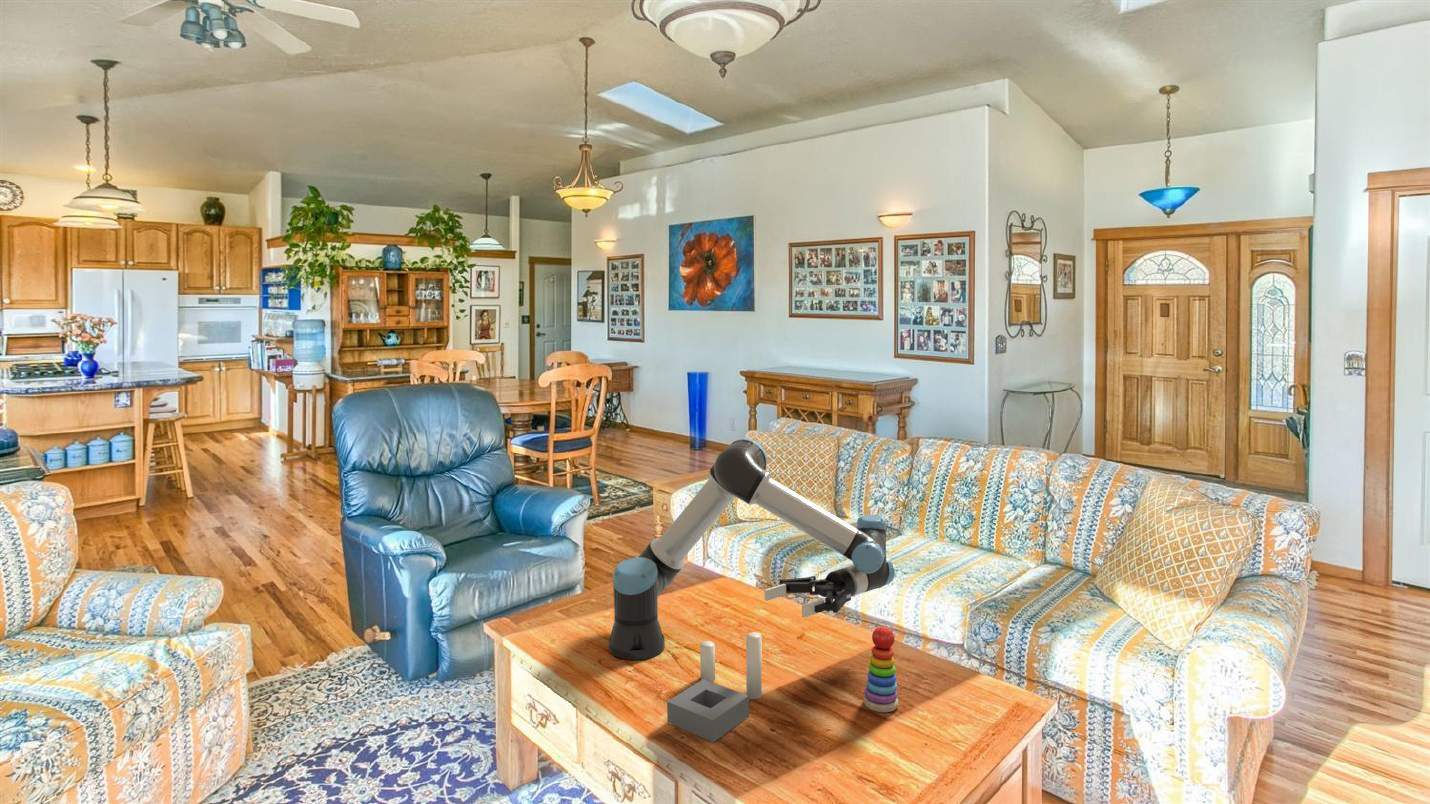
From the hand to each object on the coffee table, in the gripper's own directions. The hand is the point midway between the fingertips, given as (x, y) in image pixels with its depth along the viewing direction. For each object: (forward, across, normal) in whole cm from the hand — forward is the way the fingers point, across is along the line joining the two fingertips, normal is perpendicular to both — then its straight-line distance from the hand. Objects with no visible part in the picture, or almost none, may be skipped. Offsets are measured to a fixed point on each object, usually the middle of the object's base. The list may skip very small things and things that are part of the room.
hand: (783, 603), depth 190 cm
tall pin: (+10, 0, -20) cm, 23 cm away
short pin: (+13, +14, -20) cm, 28 cm away
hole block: (+24, -2, -20) cm, 32 cm away
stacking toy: (-11, -21, -21) cm, 32 cm away
